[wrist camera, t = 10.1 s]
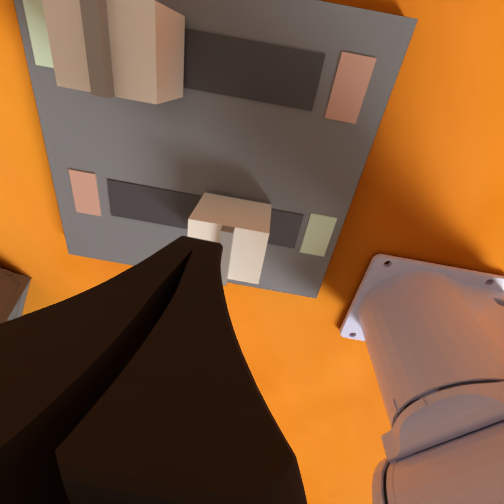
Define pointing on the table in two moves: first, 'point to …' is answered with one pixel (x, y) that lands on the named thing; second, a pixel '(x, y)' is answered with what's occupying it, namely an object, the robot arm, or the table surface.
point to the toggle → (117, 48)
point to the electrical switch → (12, 294)
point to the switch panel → (226, 131)
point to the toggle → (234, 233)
